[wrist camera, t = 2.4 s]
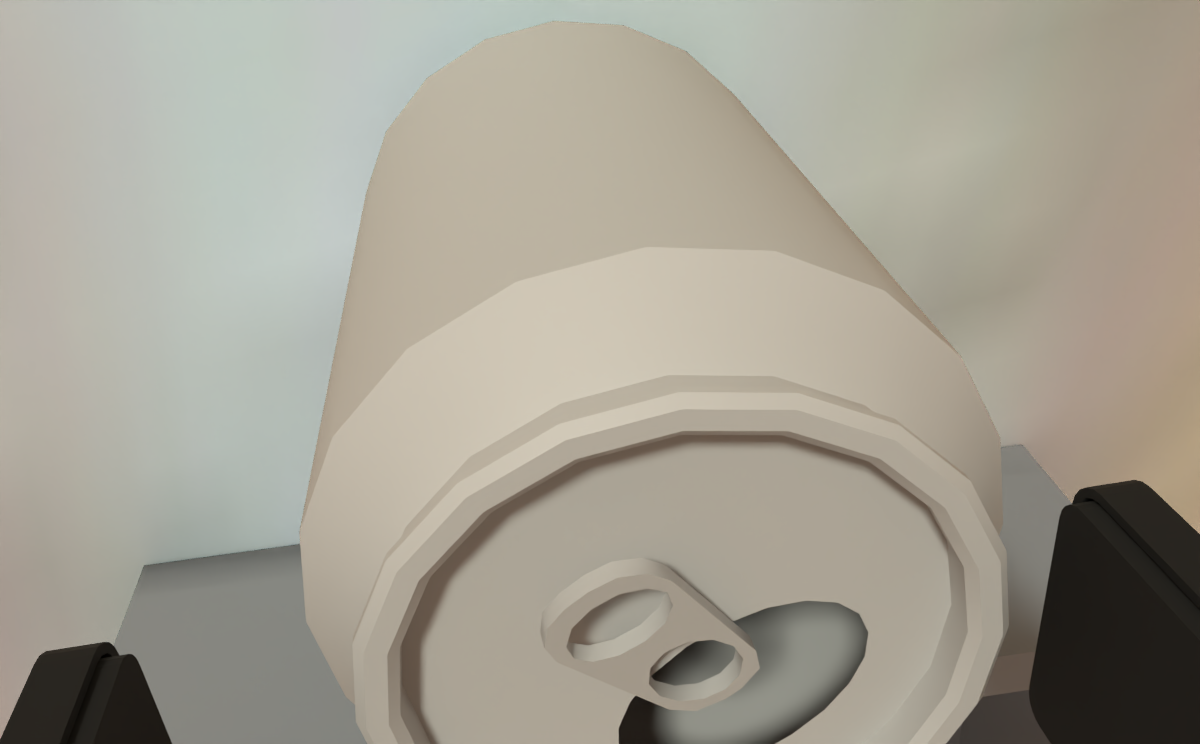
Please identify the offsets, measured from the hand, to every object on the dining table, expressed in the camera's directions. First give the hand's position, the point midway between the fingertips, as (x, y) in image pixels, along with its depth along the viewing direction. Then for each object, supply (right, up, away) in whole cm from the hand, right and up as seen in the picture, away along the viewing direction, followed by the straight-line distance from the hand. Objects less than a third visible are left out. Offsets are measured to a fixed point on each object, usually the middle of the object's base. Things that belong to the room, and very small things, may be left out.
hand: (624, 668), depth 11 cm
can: (-1, +6, +9) cm, 11 cm away
